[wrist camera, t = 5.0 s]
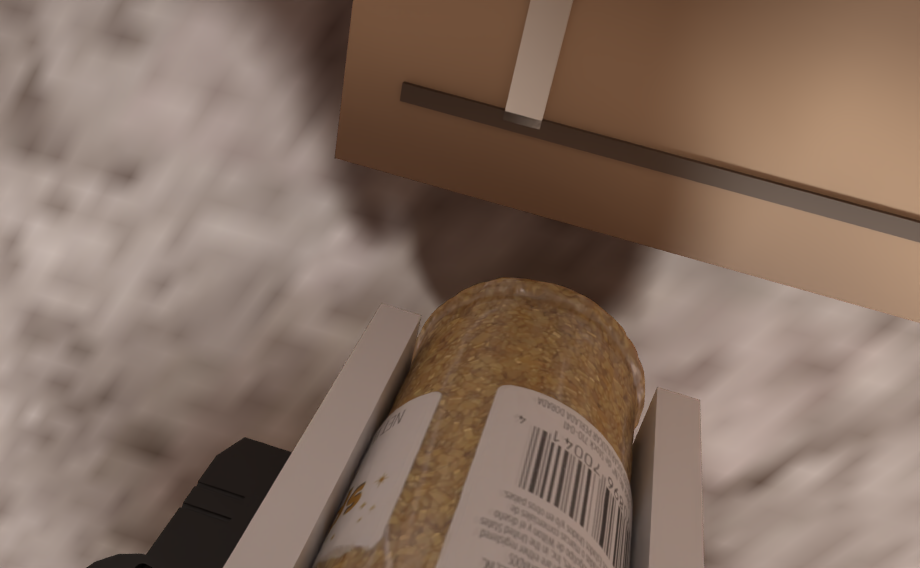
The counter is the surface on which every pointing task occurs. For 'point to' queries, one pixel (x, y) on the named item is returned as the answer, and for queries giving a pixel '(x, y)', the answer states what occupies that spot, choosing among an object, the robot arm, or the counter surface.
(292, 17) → the counter surface
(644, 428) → the robot arm
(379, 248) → the counter surface
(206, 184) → the counter surface
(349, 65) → the board
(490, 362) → the spice jar
